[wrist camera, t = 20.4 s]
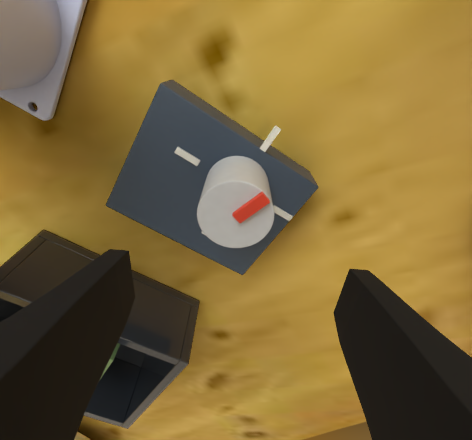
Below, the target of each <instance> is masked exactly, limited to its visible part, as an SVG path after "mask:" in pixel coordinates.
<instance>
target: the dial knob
mask: <svg viewBox="0 0 472 440" xmlns="http://www.w3.org/2000/svg"><path fill="white" fill-rule="evenodd" d="M197 219H198V223H199V226H200V228H201V230H202V231H203V233H204V234H205V235H206V236H207V237H208V238H209V239H210V240H212V241H213V242H215V243H217V244H219V245H221V246H224V247H229V248H243V247H248V246H251V245H253V244H256V243H257V242H259V241H260V240H262V239H263V238H264V237H265V236H266V235H267V234H268V232H269V231H270V229H271V227H272V225H273V221H274V208H273V203H272V198H271V192H270V187H269V182H268V178H267V175H266V173H265V171H264V169H263V168H262V167H261V166H260V165H259V164H258V163H257V162H256V161H254V160H252V159H250V158H247V157H244V156H230V157H226V158H224V159H222V160H220V161H218V162H217V163H216V164H215V165H213V167H212V168H211V169H210V171H209V172H208V175H207V178H206V181H205V184H204V187H203V191H202V194H201V197H200V201H199V204H198V208H197Z"/></svg>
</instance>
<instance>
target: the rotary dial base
mask: <svg viewBox="0 0 472 440" xmlns="http://www.w3.org/2000/svg"><path fill="white" fill-rule="evenodd" d="M280 130H281V129H280V128H278V127H277V126H276V125H275V126H274V128H273V129H272V131H271V132H270V133H269V135H268V136H267V138H266V139H265V141H263V140H262V139H260V138H259V137H257V136H256V135H254V134H253V133H251V132H250V131H248V130H247V129H245V128H244V127H242V126H241V125H239V124H238V123H236V122H235V121H233V120H232V119H230V118H229V117H227V116H226V115H224V114H223V113H221V112H220V111H218V110H217V109H216V108H214V107H213V106H211V105H210V104H208V103H207V102H205V101H204V100H202V99H201V98H199V97H198V96H196V95H195V94H193V93H192V92H190V91H189V90H187V89H186V88H184V87H183V86H181V85H180V84H178V83H177V82H175V81H174V80H169V81H166V82H163V83H161V84H160V85H159V87H158V90H157V92H156V94H155V96H154V99H153V101H152V103H151V105H150V107H149V110H148V112H147V114H146V116H145V119H144V121H143V123H142V125H141V127H140V130H139V132H138V134H137V136H136V138H135V141H134V143H133V145H132V147H131V150H130V152H129V154H128V156H127V158H126V161H125V163H124V165H123V167H122V170H121V172H120V174H119V176H118V178H117V181H116V183H115V185H114V187H113V190H112V192H111V194H110V196H109V198H108V201H107V203H106V206H107V207H109V208H111V209H113V210H115V211H117V212H119V213H121V214H123V215H125V216H127V217H129V218H131V219H133V220H135V221H137V222H139V223H141V224H143V225H145V226H147V227H149V228H151V229H153V230H155V231H157V232H158V233H160V234H162V235H164V236H166V237H168V238H170V239H172V240H174V241H176V242H178V243H180V244H182V245H184V246H186V247H188V248H190V249H192V250H194V251H196V252H198V253H200V254H202V255H204V256H206V257H208V258H210V259H212V260H214V261H216V262H218V263H220V264H221V265H223V266H225V267H227V268H229V269H231V270H233V271H235V272H237V273H239V274H241V275H243V274H244V273H245V272H246V271H247V270H248V268H249V267H250V266H251V265H252V264H253V263H254V261H255V260H256V259H257V258H258V257H259V256H260V255H261V253H262V252H263V251H264V250H265V249H266V248H267V246H268V245H269V244H270V243H271V242H272V241H273V239H274V238H275V237H276V236H277V235H278V234H279V233H280V231H281V230H282V229H283V228H284V227H285V226H286V224H287V223H288V222H289V221H290V220H291V219H292V218H293V216H294V215H295V214H296V213H297V212H298V211H299V209H300V208H301V207H302V206H303V205H304V204H305V202H306V201H307V200H308V199H309V198H310V197H311V196H312V194H313V193H314V192H315V191H316V190H317V189H318V185H317V183H316V182H315V180H314V178H313V176H312V175H311V173H310V171H308V170H307V169H305V168H304V167H302V166H301V165H299V164H298V163H296V162H295V161H293V160H292V159H290V158H289V157H287V156H286V155H284V154H283V153H281V152H280V151H278V150H277V149H275V148H274V147H272V146H271V143H272V142H273V140H274V139H275V138H276V136H277V135H278V133H279V132H280ZM230 156H244V157H247V158H250V159H252V160H254V161H256V162H257V163H258V164H259V165H260V166H261V167H262V168H263V169H264V171H265V173H266V175H267V178H268V182H269V187H270V192H271V198H272V203H273V208H274V221H273V225H272V227H271V229H270V231H269V232H268V234H267V235H266V236H265V237H264V238H263V239H262V240H260V241H259V242H257V243H256V244H253V245H251V246H248V247H243V248H229V247H224V246H221V245H219V244H217V243H215V242H213V241H212V240H210V239H209V238H208V237H207V236H206V235H205V234H204V233H203V231H202V230H201V228H200V226H199V223H198V219H197V208H198V204H199V201H200V197H201V194H202V191H203V187H204V184H205V181H206V178H207V175H208V172H209V171H210V169H211V168H212V167H213V165H215V164H216V163H217V162H218V161H220V160H222V159H224V158H226V157H230Z"/></svg>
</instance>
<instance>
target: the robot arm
mask: <svg viewBox="0 0 472 440" xmlns="http://www.w3.org/2000/svg"><path fill="white" fill-rule="evenodd" d="M86 3H87V0H0V97H1V98H3V99H5V100H6V101H8V102H10V103H12V104H14V105H15V106H17V107H19V108H21V109H23V110H24V111H26V112H28V113H30V114H32V115H33V116H35V117H37V118H39V119H41V120H43V121H47V120H50V119H52V118H53V116H54V114H55V110H56V107H57V103H58V100H59V96H60V93H61V89H62V86H63V83H64V79H65V76H66V72H67V69H68V65H69V62H70V58H71V55H72V51H73V48H74V44H75V41H76V38H77V34H78V31H79V27H80V24H81V20H82V17H83V13H84V10H85V6H86ZM33 102H34V103H35V104H36V105H37V108H38V110H36V109H34V107H33V105H32V103H33ZM134 299H135V291H134V284H133V277H132V270H131V263H130V256H129V251H125V250H113V249H110V250H108V251H107V252H105V253H104V254H102V255H101V256H99V257H98V258H96V259H95V260H93V261H92V262H91V263H89V264H88V265H86V266H85V267H84V268H82V269H81V270H79V271H78V272H77V273H75V274H74V275H72V276H71V277H69V278H68V279H66V280H65V281H64V282H62V283H61V284H59V285H58V286H56V287H55V288H53V289H52V290H51V291H49V292H47V293H46V294H44V295H43V296H41V297H40V298H38V299H37V300H35V301H33V302H32V303H30V304H29V305H27V306H26V307H24V308H22V309H21V310H19V311H18V312H16V313H15V314H13V315H11V316H10V317H8V318H6V319H5V320H3V321H1V322H0V440H74V439H75V436H76V434H77V431H78V429H79V426H80V423H81V421H82V418H83V415H84V413H85V411H86V408H87V406H88V404H89V401H90V399H91V397H92V395H93V393H94V391H95V389H96V386H97V384H98V382H99V380H100V378H101V376H102V374H103V372H104V370H105V368H106V366H107V364H108V362H109V360H110V358H111V355H112V353H113V351H114V349H115V347H116V345H117V343H118V341H119V339H120V337H121V335H122V332H123V330H124V328H125V326H126V323H127V320H128V317H129V315H130V312H131V309H132V305H133V302H134ZM334 317H335V322H336V327H337V332H338V337H339V341H340V345H341V348H342V351H343V354H344V357H345V360H346V363H347V365H348V368H349V371H350V374H351V377H352V380H353V383H354V386H355V389H356V391H357V394H358V397H359V400H360V403H361V406H362V409H363V412H364V414H365V417H366V421H367V424H368V427H369V430H370V434H371V437H372V440H472V358H471V357H470V356H469V355H467V354H466V353H465V352H464V351H462V350H461V349H460V348H459V347H457V346H456V345H455V344H454V343H452V342H451V341H450V340H449V339H447V338H446V337H445V336H444V335H443V334H441V333H440V332H439V331H438V330H437V329H435V328H434V327H433V326H432V325H431V324H429V323H428V322H427V321H426V320H425V319H424V318H422V317H421V316H420V315H419V314H418V313H417V312H415V311H414V310H413V309H412V308H411V307H410V306H409V305H408V304H406V303H405V302H404V301H403V300H402V299H401V298H400V297H399V296H397V295H396V294H395V293H394V292H393V291H392V290H391V289H390V288H388V287H387V286H386V285H385V284H384V283H383V282H382V281H380V280H379V279H378V278H377V277H376V276H375V275H373V274H372V273H371V272H370V271H368V270H358V269H349V272H348V275H347V277H346V280H345V283H344V286H343V288H342V291H341V294H340V297H339V299H338V302H337V305H336V308H335V310H334Z"/></svg>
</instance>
